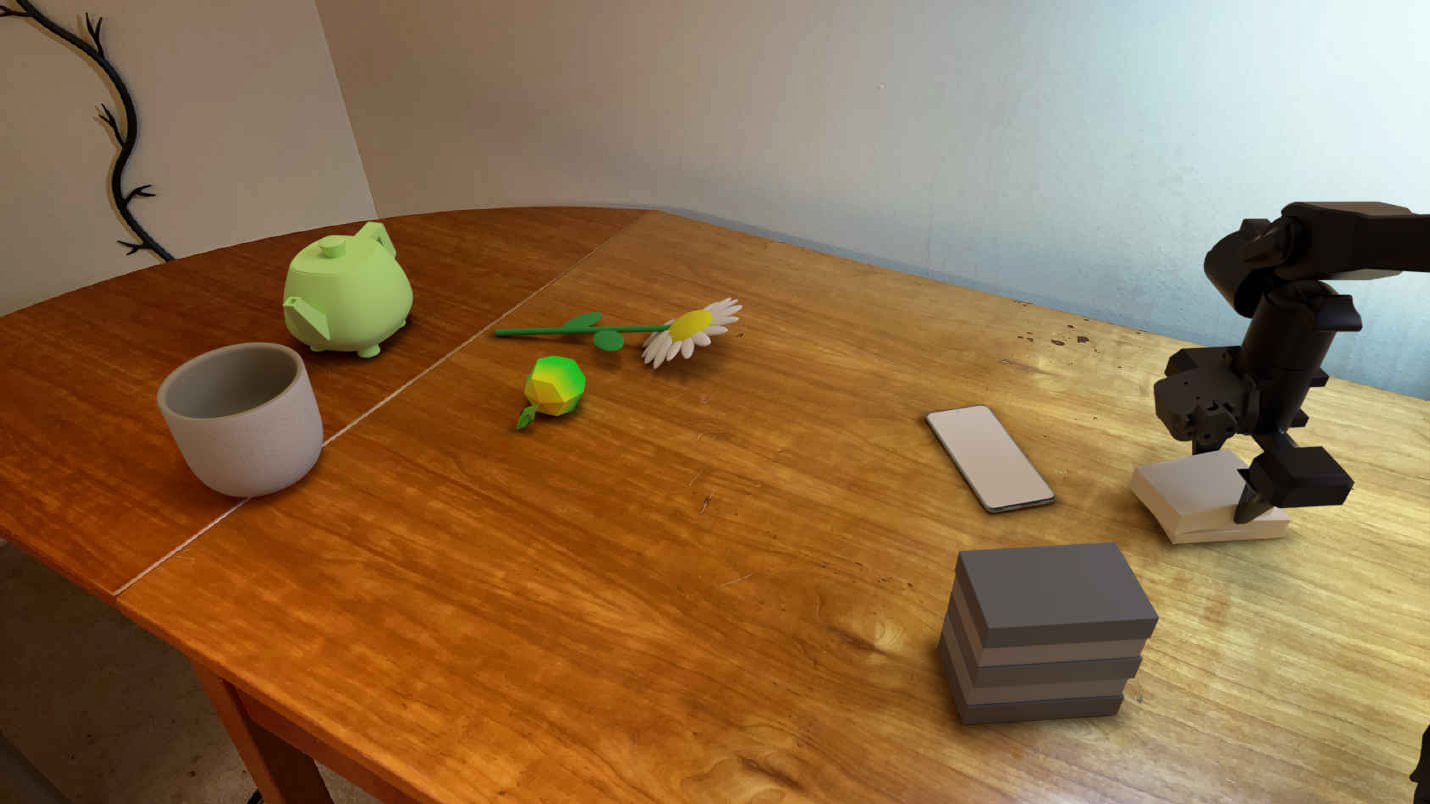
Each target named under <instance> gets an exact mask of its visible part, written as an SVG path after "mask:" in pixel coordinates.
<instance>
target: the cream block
mask: <svg viewBox="0 0 1430 804" xmlns="http://www.w3.org/2000/svg"><path fill="white" fill-rule="evenodd" d="M1249 467H1250V465H1249V464H1248V463H1246V462H1245V460H1243V459H1242V458H1241V457H1240V456H1239V455H1237V453H1235V451H1233V450H1232V449H1231V448H1230V447H1229V448H1222V449H1220V450H1218V451H1213V452H1208V453H1203V454H1198V455H1193V456H1192V455H1189V456H1184V457H1178V458H1173V459H1169V460H1163V461H1159V462H1154V463H1149V464H1144V465H1139V466H1134V468H1133V470H1132V474H1131V476H1130V479H1129V482H1128V484H1127V487H1128V488H1129V490H1131V492H1132V493H1133V494H1134V495H1135V496H1136V497H1137V498H1138V499H1139V500H1140V501H1141V502H1142V504H1143V505H1144V506H1145V507H1146V508H1147V509H1148V510H1149V511H1150V512H1151V513H1152V514H1153V516H1154V515H1155V516H1156V517H1157V518H1158V519H1159V521H1160V522H1161V523H1162V524H1163V525H1164V526H1165V527H1166V528H1167V529H1168V530H1169V531H1170V532H1171V534H1172V535H1178V534H1182V533H1187V532H1191V531H1196V530H1201V529H1205V528H1210V527H1214V526H1219V525H1223V524H1228V523H1232V522H1234V521H1233V520H1234V515H1235V511H1236V508H1237V505H1238V502H1239V500H1240V497H1241V494H1242V492H1243V489H1244V486H1245V484H1246V482H1245V481H1244V479H1243V478H1242V477H1241V476H1240V474H1239V473H1238V472H1237V469H1245V468H1249ZM1273 509H1274V507H1273V508H1271V509H1270V510H1268V511H1267V512H1265V513H1263V514H1262V515H1260V516H1264V515H1268V514H1271V513H1272V511H1273ZM1155 516H1154V517H1155ZM1156 517H1155V518H1156ZM1258 517H1259V516H1258Z"/></svg>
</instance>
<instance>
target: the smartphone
mask: <svg viewBox="0 0 1430 804" xmlns="http://www.w3.org/2000/svg"><path fill="white" fill-rule="evenodd" d="M925 419H926V421H927V423H928V424H929V427H931V429H932V431H933V432H934V433H935V435H936V436H937V439H939V441H940V442H941V444H942V445H943V447H944V448H945V450H946V451H947V453H948V454H949V456H950V457H951V459H952V460H953V462H954V464H955V465H956V466H957V468H958V469H959V471H960V472H961V474H962V475H963V477H964V478H965V479H966V481H967V483H968V484H969V486H970V487H971V489H972V491H973V492H974V493H975V495H976V496H977V498H978V499H979V501H980V502H981V504H982V505H983V507H984V508H985V510H986V511H988V512H989V513H999V512H1006V511H1013V510H1016V509H1017V510H1018V509H1023V508H1027V507H1035V506H1040V505H1046V504H1051V503H1054V502H1055V501H1056V499H1057V495H1056V494H1055V492H1054V491H1053V490H1052V488H1051V487H1050V485H1048V483H1047V482H1046V481H1045V479H1044V478H1043V477H1042V476H1041V474H1040V473H1039V471H1038V470H1037V468H1036V467H1035V466H1034V465H1033V463H1032V462H1031V461H1030V460H1029V459H1028V457H1027V456H1026V455H1025V453H1024V452H1023V450H1022V449H1021V448H1020V447H1019V445H1018V444H1017V443H1016V441H1015V440H1014V438H1013V437H1012V436H1011V434H1009V432H1008V431H1007V429H1005V427H1004V426H1003V424H1002V423H1001V421H1000V420H999V419H998V418H997V417H996V416H995V414H994V413H993V411H992V410H991V409H990V407H988V406H987V405H985V404H977V405H971V406H964V407H957V408H951V409H945V410H938V411H931V412H928V413H926V415H925Z"/></svg>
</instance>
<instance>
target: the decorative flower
mask: <svg viewBox="0 0 1430 804" xmlns="http://www.w3.org/2000/svg"><path fill="white" fill-rule="evenodd" d="M738 301H739V299H733V300H732V297H727V298H725V299H722V300H721V301H720V302H719V301H715V302H712V303H711V304H709V305H707V306H705V307H704V308H703V309H696V310H692V311H689V312H686V313H684V314H682V315H680V316H679V317H677V318H676V319H674V318H673V319H670V320H669V321H667V322H665V323H663V324H656V325H655V324H653V325H652V324H651V325H650V324H649V325H616V326H611V325H610V326H593V325H594V324H596V323H598V322H599V321H600V319H601V318H602V312H596V311H592V312H587V313H582V314H580V315H578V316H575V317H574V318H571V319H570V320H568V321H566V322H564V323H563V325H562V326H561V327H536V328H534V327H533V328H530V327H529V328H497V329H496V330H495V335H496V336H497V337H499V336H500V337H501V336H502V337H503V336H505V337H506V336H543V335H545V336H546V335H586V334H587V335H588V334H589V335H590V334H593V337H592V342H593V345H594V346H595V347H597V348H598V349H599V350H601V351H605V352H616V351H619V350H620V349H621V348H623V347H624V343H625V340H624V337H623V335H622V334H623V333H624V334H627V333H628V334H631V333H632V334H633V333H651V335H650V336H649V337H647V339H646V340H645V341H644V342H643V345H642V348H645V350H644V352H642V354H641V357H640V358H641V359H643V358H644V365H646V364H647V365H648V364H649V363H650V362H652V361H653V364H652V367H653V369H654V370H655V369H657V368H659V367H660V366H661V364H662V363H664V361H665V359H666V362H669V361H671V360H673V358H675V357H676V356H677V354H678V353H679V352H680V351H681V355H682V357H683V358H684V360H685V359H687V360H688V359H689V358H691V357H692V354H694V353H693V352H694V350H695V345H697V346H699V347H707V346H709V345H711V343H712V342H711V339H710V337H714V336H721V335H723V334H726V333H727V332H728V330H729V329H728V328H726V327H725V326H729V325H732V324H734V323H736V322H738V321H739V319H740V318H739V317H738V316H733V315H734V314H736V313H738V312H739V311H741V310H742V308H743V305H742V304H737V302H738Z"/></svg>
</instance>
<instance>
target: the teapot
mask: <svg viewBox="0 0 1430 804" xmlns="http://www.w3.org/2000/svg"><path fill="white" fill-rule="evenodd" d="M396 255H397V251H396V249H395V247H394V244H393V242H392V240H391V238H390V236H389V234H388V231H387V230H386V227H385V225H384V223H382V222H373V221H368V222H366V223H365V225H364V226H363V227H362V228H361V229H359V230H358V231H357V232H356V234H354V235H338V234H332V235H327V236H324V237H323V238H321V239H318V240H316V241H314V242H312V243H311V244H309V245H307V246H306V247H304V248H303V249H302V250H300V251H298V253H297V254H296V255H295V257H294V258H293V259H292V260H291V261H290V264H289V267H288V270H287V275H286V279H285V283H284V284H285V285H284V290H283V298H282V299H283V301H282V302H283V303H282V308H283V315H284V322H285V324H286V328H287V331H289V333H290V334H291V335H292V336H293V337H294V338H295V339H297V340H298V341H300V342H301V343H303V344H305V345H307V346H309V347H310V350H311V351H313V352H325V351H326V350H328V351H334V352H335V351H336V352H357V356H359V357H361V358H365V359H366V358H371V357H372V358H373V357H374V356H377V355H378V354H379V353H380V352H381V347H380V346H379V344H380V343H382V342H384V341H385V340H386V339H389V338H390V337H391V336H392V335H394V334H395V333H396V332H397V331H398V330H399V329H400V328H403V327H404V326H405V325H406V323H407V321H406V319H407V317H408V315H409V313H410V310H411V309H412V306H413V301H414V294H413V293H414V292H413V290H412V289H413V288H412V286H411V284H410V280H409V279H408V276H407V274H406V273H405V271H404V270H403V268H402V266H401V265H400V264H399V262H398V261H397V260H396V259H395V258H396Z"/></svg>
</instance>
